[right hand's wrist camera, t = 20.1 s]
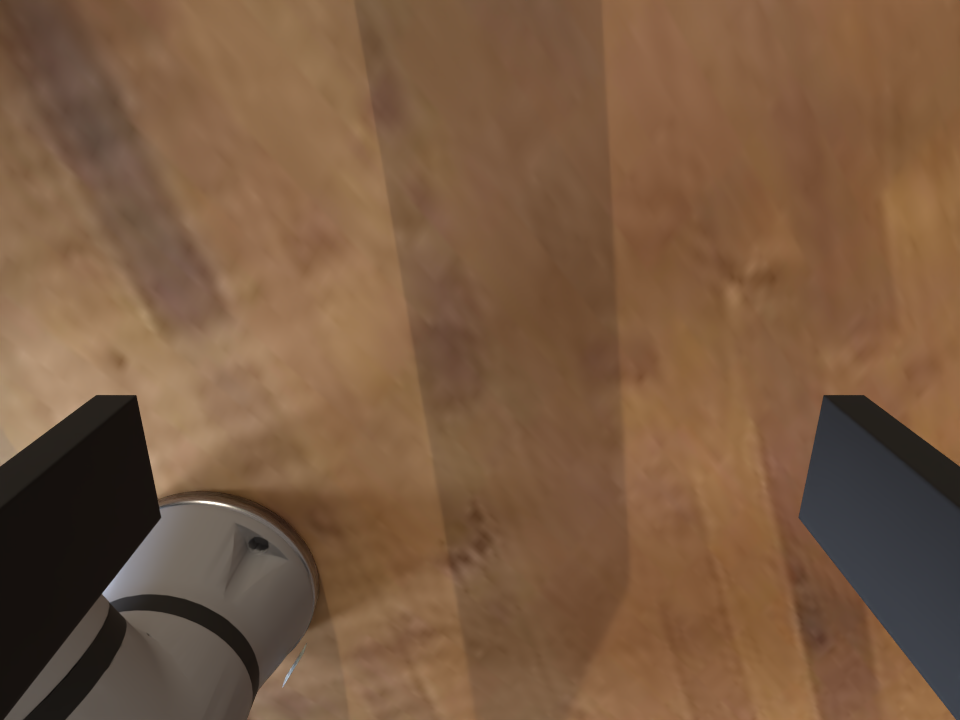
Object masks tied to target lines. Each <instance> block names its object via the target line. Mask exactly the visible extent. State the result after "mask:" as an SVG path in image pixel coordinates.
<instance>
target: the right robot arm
mask: <svg viewBox="0 0 960 720" xmlns="http://www.w3.org/2000/svg"><path fill="white" fill-rule="evenodd" d="M799 519H800V520H801V521H802V523H803V524H804V525H805V527H806V528H807V529H808V530H809V532H810V533H811V534H812V536H813V537H814V538H815V539H816V541H817V542H818V543H819V544H820V546H821V547H822V548H823V550H824V551H825V552H826V553H827V555H828V556H829V557H830V559H831V560H832V561H833V562H834V564H835V565H836V566H837V568H838V569H839V570H840V571H841V573H842V574H843V575H844V577H845V578H846V579H847V580H848V582H849V583H850V584H851V585H852V587H853V588H854V589H855V591H856V592H857V593H858V594H859V596H860V597H861V598H862V600H863V601H864V602H865V603H866V605H867V606H868V607H869V609H870V610H871V611H872V612H873V614H874V615H875V616H876V618H877V619H878V620H879V621H880V623H881V624H882V625H883V626H884V628H885V629H886V630H887V632H888V633H889V634H890V635H891V637H892V638H893V639H894V641H895V642H896V643H897V644H898V646H899V647H900V648H901V650H902V651H903V652H904V653H905V655H906V656H907V657H908V659H909V660H910V661H911V662H912V664H913V665H914V666H915V667H916V669H917V670H918V671H919V673H920V674H921V675H922V676H923V678H924V679H925V680H926V682H927V683H928V684H929V685H930V687H931V688H932V689H933V691H934V692H935V693H936V694H937V696H938V697H939V698H940V699H941V701H942V702H943V703H944V705H945V706H946V707H947V708H948V710H949V711H950V712H951V714H952V715H953V716H954V717H955V719H956V720H960V466H958V465H957V464H955V463H954V462H953V461H951V460H950V459H949V458H947V457H946V456H945V455H943V454H942V453H941V452H939V451H938V450H937V449H935V448H934V447H933V446H931V445H930V444H929V443H927V442H926V441H925V440H923V439H922V438H921V437H919V436H918V435H917V434H915V433H914V432H912V431H911V430H910V429H908V428H907V427H906V426H904V425H903V424H902V423H900V422H899V421H898V420H896V419H895V418H894V417H892V416H891V415H890V414H888V413H887V412H886V411H884V410H883V409H882V408H880V407H879V406H878V405H876V404H875V403H874V402H872V401H871V400H870V399H868V398H867V397H865V396H864V395H824V396H823V401H822V406H821V411H820V416H819V421H818V426H817V430H816V435H815V440H814V445H813V450H812V455H811V460H810V465H809V469H808V474H807V479H806V484H805V489H804V494H803V499H802V504H801V508H800V513H799ZM318 594H319V578H318V572H317V567H316V564H315V561H314V559H313V556H312V554H311V552H310V550H309V549H308V547H307V545H306V544H305V542H304V541H303V539H302V538H301V537H300V535H299V534H298V533H297V532H296V531H295V530H294V529H293V528H292V527H291V526H290V525H289V524H288V523H287V522H286V521H284V520H283V519H282V518H281V517H279V516H278V515H276V514H275V513H273V512H272V511H270V510H269V509H267V508H265V507H263V506H261V505H259V504H257V503H255V502H252V501H250V500H247V499H244V498H241V497H238V496H234V495H230V494H225V493H219V492H209V491H196V492H185V493H179V494H175V495H171V496H167V497H165V498H162V499H159V500H158V499H157V494H156V489H155V484H154V479H153V474H152V469H151V465H150V460H149V455H148V450H147V445H146V440H145V435H144V430H143V426H142V421H141V416H140V411H139V406H138V401H137V396H136V395H96V396H95V397H93V398H92V399H90V400H89V401H88V402H86V403H85V404H84V405H82V406H81V407H80V408H78V409H77V410H76V411H74V412H73V413H72V414H70V415H69V416H68V417H66V418H65V419H64V420H62V421H61V422H60V423H58V424H57V425H56V426H54V427H53V428H52V429H50V430H49V431H48V432H46V433H45V434H43V435H42V436H41V437H39V438H38V439H37V440H35V441H34V442H33V443H31V444H30V445H29V446H27V447H26V448H25V449H23V450H22V451H21V452H19V453H18V454H17V455H15V456H14V457H13V458H11V459H10V460H9V461H7V462H6V463H5V464H3V465H2V466H0V720H247V718H248V715H249V712H250V709H251V707H252V704H253V701H254V699H255V696H256V694H257V691H258V690H259V688H260V687H261V686H262V685H263V684H264V683H265V681H266V680H267V679H268V678H269V677H270V676H271V674H272V673H273V672H274V671H275V670H276V668H277V667H278V666H279V665H280V664H281V662H282V661H283V660H284V659H285V657H286V656H287V655H288V654H289V653H290V652H291V651H292V650H293V649H294V648H295V647H296V646H297V644H298V643H299V642H300V640H301V638H302V637H303V636H304V634H305V632H306V631H307V629H308V627H309V624H310V622H311V619H312V616H313V613H314V610H315V607H316V603H317V600H318ZM306 645H307V643H306ZM306 645H305V646H304V648H303V650H302V651H301V653H300V655H299V656H298V658H297V659H296V661H295V663H294V664H293V666H292V668H291V669H290V671H289V672H288V674H287V676H286V678H285V681H284V684H285V683H286V681H287V679H288V678H289V676H290V675H291V673H292V671H293V670H294V668H295V666H296V665H297V663H298V662H299V660H300V658H301V657H302V655H303V654H304V651H305V648H306ZM284 684H283V686H284Z"/></svg>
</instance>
